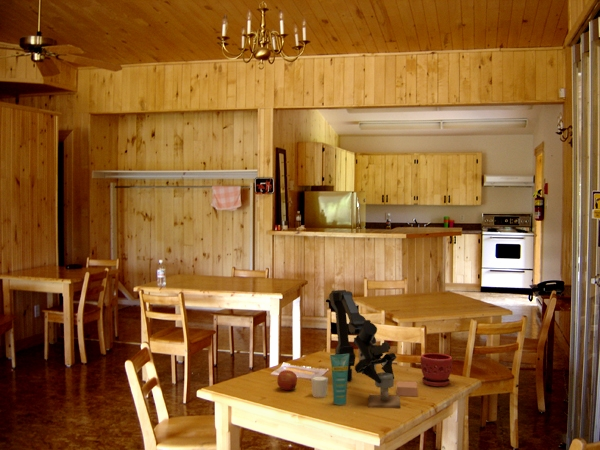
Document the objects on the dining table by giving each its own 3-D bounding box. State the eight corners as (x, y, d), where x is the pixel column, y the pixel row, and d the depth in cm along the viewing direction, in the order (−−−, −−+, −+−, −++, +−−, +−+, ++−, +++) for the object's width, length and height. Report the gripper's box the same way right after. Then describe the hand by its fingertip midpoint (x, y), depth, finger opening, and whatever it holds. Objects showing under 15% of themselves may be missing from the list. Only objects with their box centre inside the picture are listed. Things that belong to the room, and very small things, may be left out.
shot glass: (330, 393, 245) (330, 376, 245) (325, 398, 238) (325, 381, 238) (314, 392, 247) (313, 375, 247) (308, 397, 241) (308, 379, 240)
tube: (332, 406, 229) (332, 356, 229) (329, 402, 234) (328, 353, 234) (351, 404, 231) (350, 354, 231) (347, 400, 236) (347, 351, 235)
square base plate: (368, 406, 228) (368, 386, 228) (369, 397, 240) (369, 377, 240) (400, 408, 226) (400, 387, 226) (399, 398, 238) (399, 378, 238)
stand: (397, 395, 241) (397, 387, 241) (396, 389, 249) (396, 381, 249) (417, 396, 240) (417, 387, 240) (416, 390, 248) (416, 381, 248)
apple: (283, 385, 256) (283, 367, 256) (301, 388, 252) (301, 369, 252) (274, 390, 249) (274, 371, 249) (292, 393, 245) (291, 374, 245)
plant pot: (452, 388, 250) (452, 360, 249) (420, 386, 253) (420, 358, 252) (452, 380, 262) (452, 352, 262) (421, 378, 265) (421, 351, 265)
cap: (377, 388, 229) (377, 377, 229) (374, 383, 236) (374, 372, 236) (394, 387, 230) (394, 376, 230) (390, 382, 236) (390, 372, 236)
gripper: (359, 339, 229) (380, 374, 221) (393, 332, 241) (414, 365, 233) (345, 355, 236) (365, 390, 228) (378, 348, 248) (399, 380, 239)
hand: (387, 381), depth 232 cm, fingers closed on cap, 7 cm apart
